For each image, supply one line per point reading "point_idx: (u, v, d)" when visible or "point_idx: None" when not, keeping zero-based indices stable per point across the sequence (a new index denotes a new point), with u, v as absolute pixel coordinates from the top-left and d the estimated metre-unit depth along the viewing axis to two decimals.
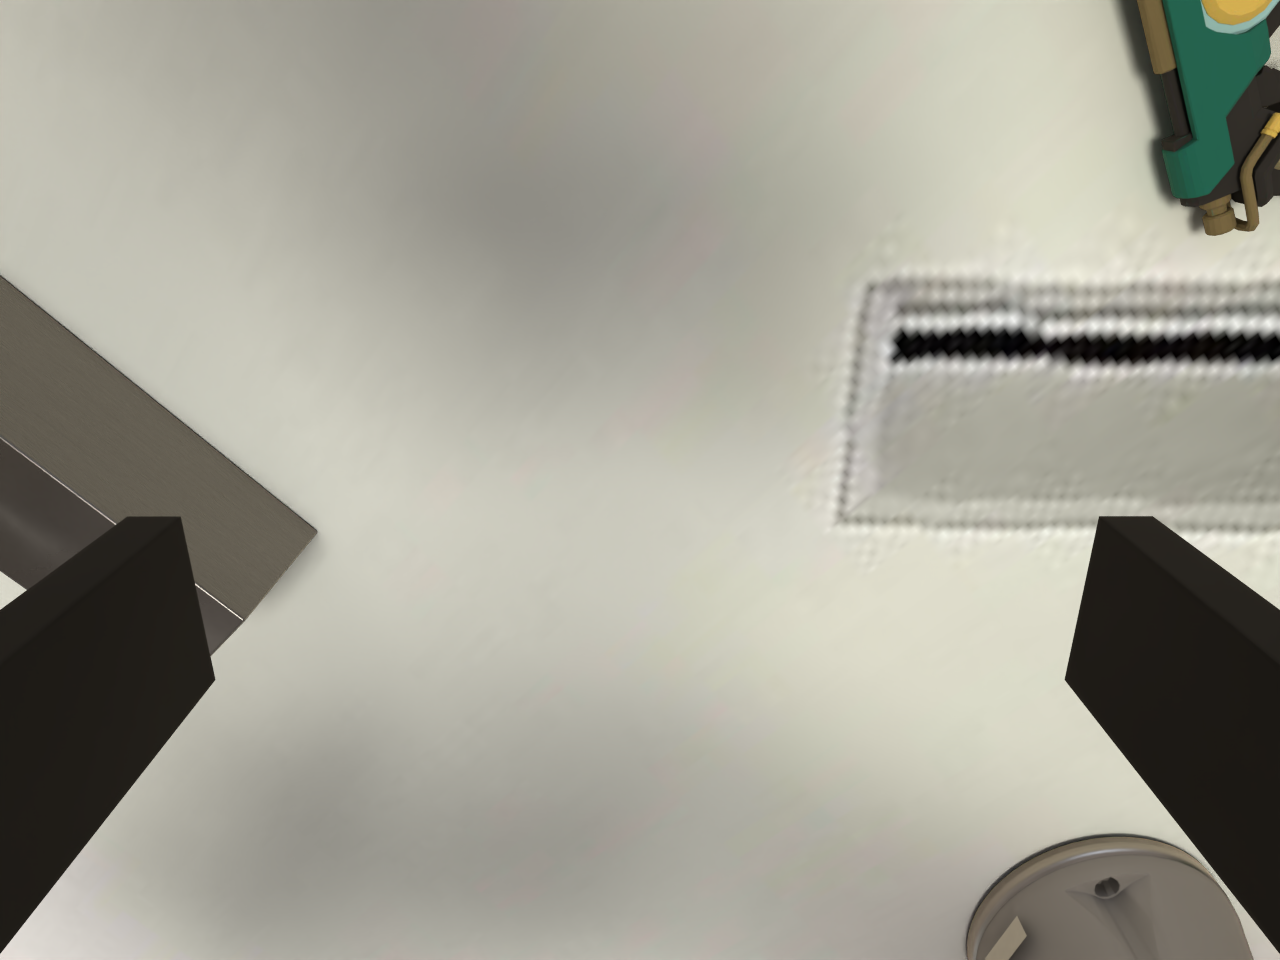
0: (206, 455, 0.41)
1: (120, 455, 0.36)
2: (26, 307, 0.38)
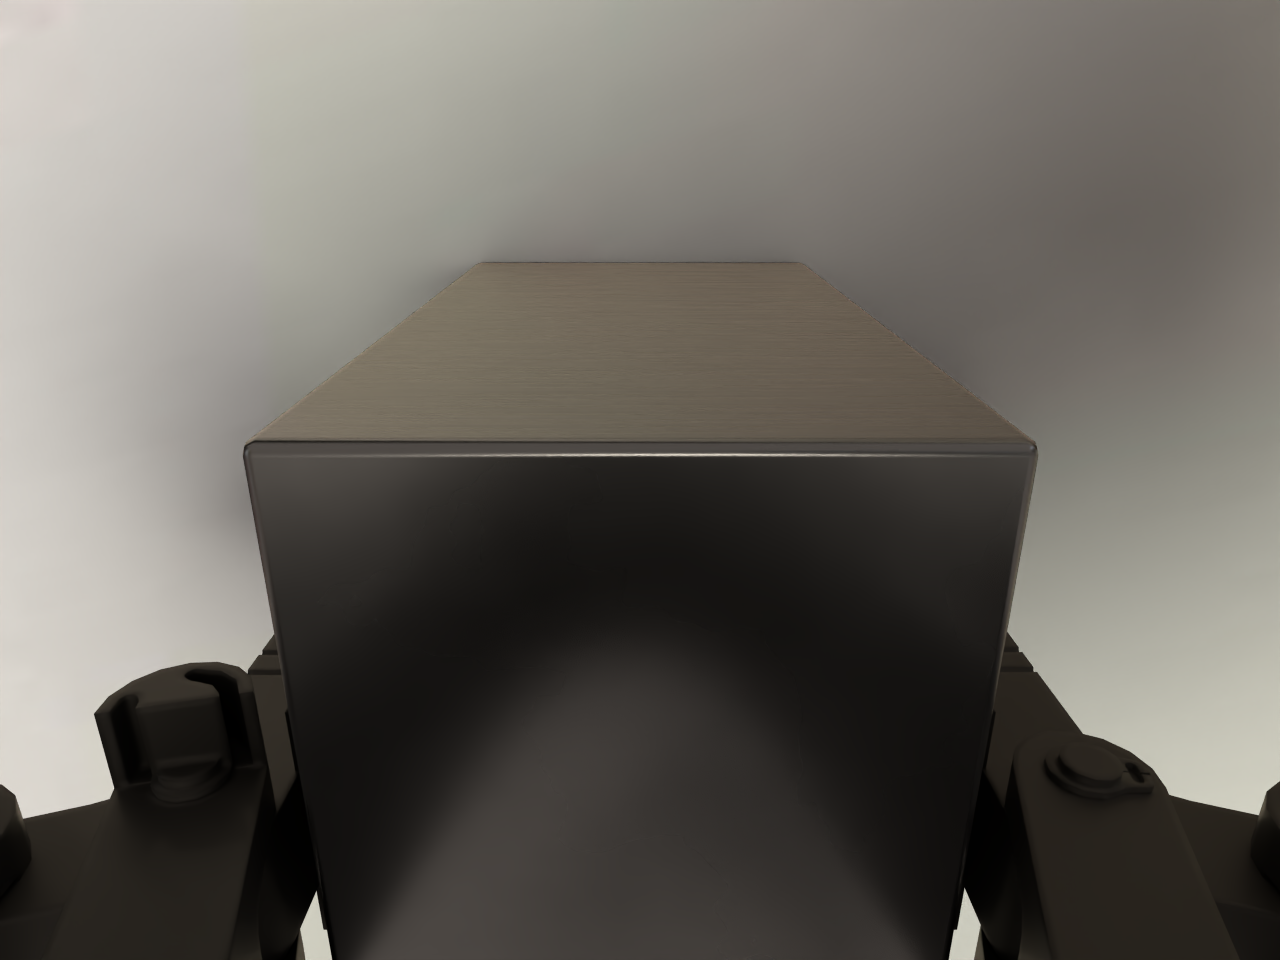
0: None
1: None
2: None
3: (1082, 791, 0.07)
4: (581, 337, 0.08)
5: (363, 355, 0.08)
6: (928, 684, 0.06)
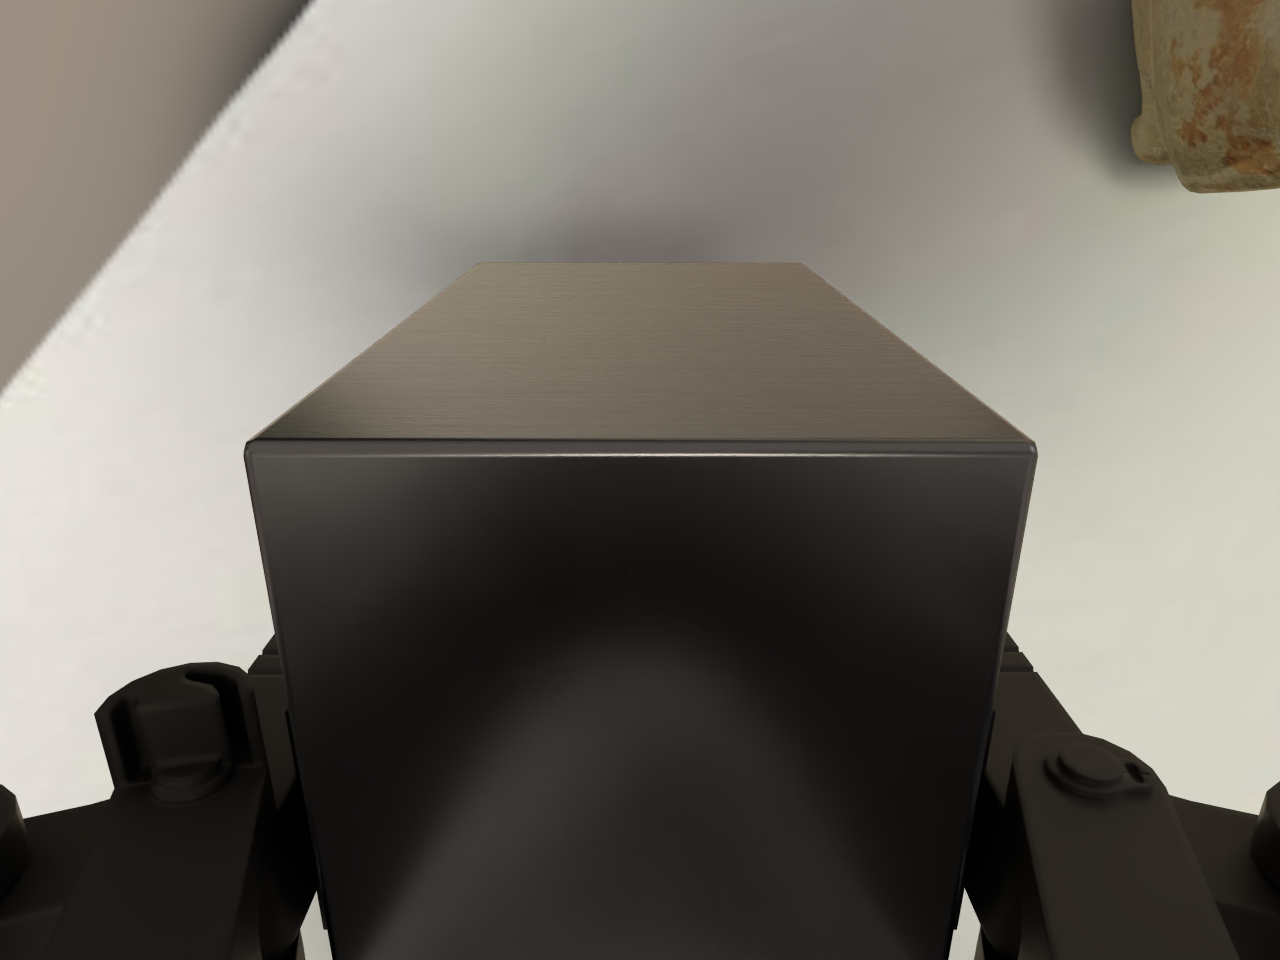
0: None
1: None
2: None
3: (1082, 792, 0.07)
4: (581, 337, 0.08)
5: (363, 355, 0.08)
6: (927, 684, 0.06)
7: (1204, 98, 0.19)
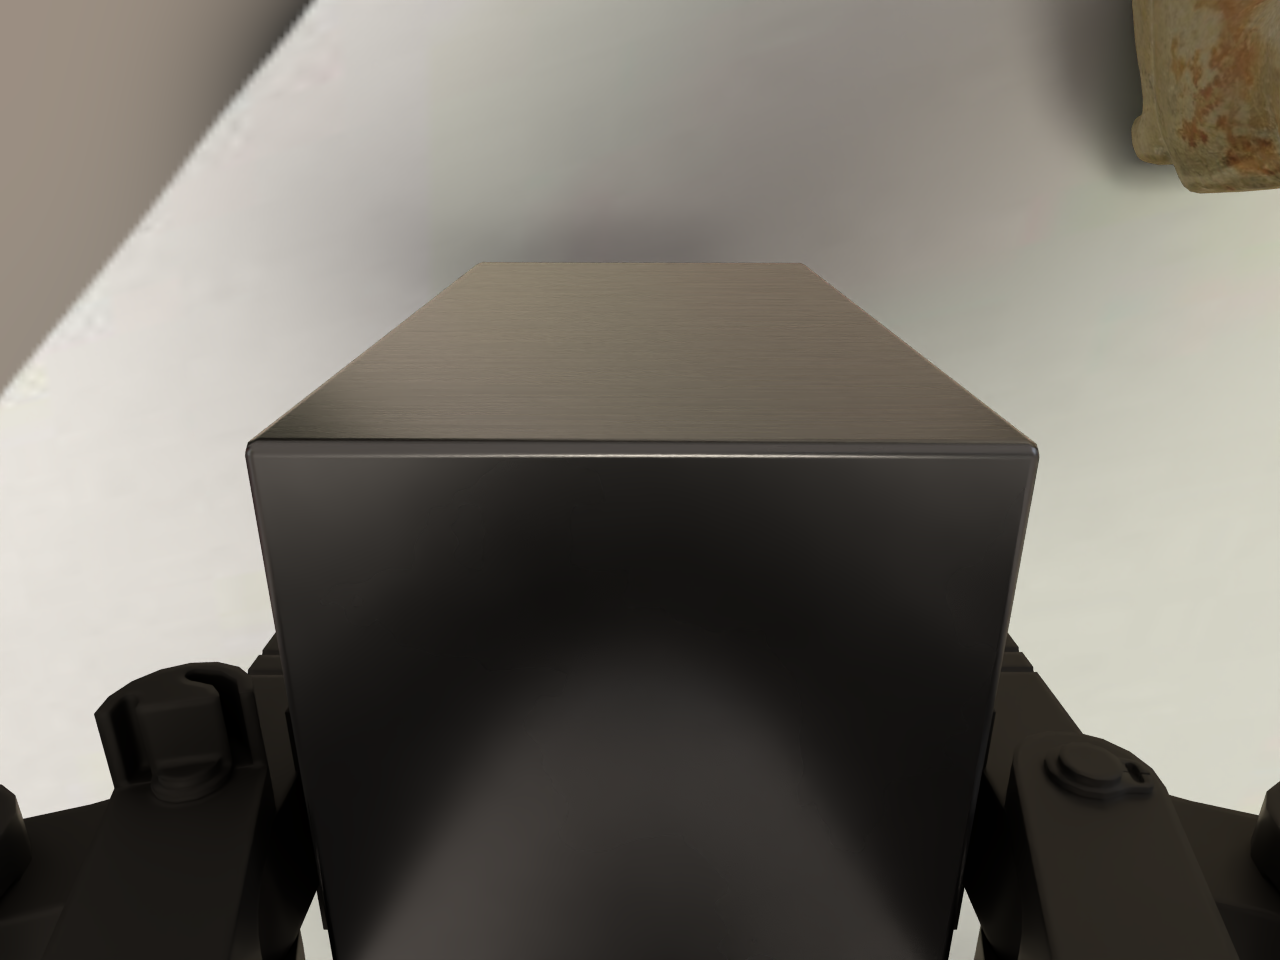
0: None
1: None
2: None
3: (1082, 792, 0.07)
4: (582, 337, 0.08)
5: (364, 355, 0.08)
6: (929, 685, 0.06)
7: (1205, 98, 0.19)
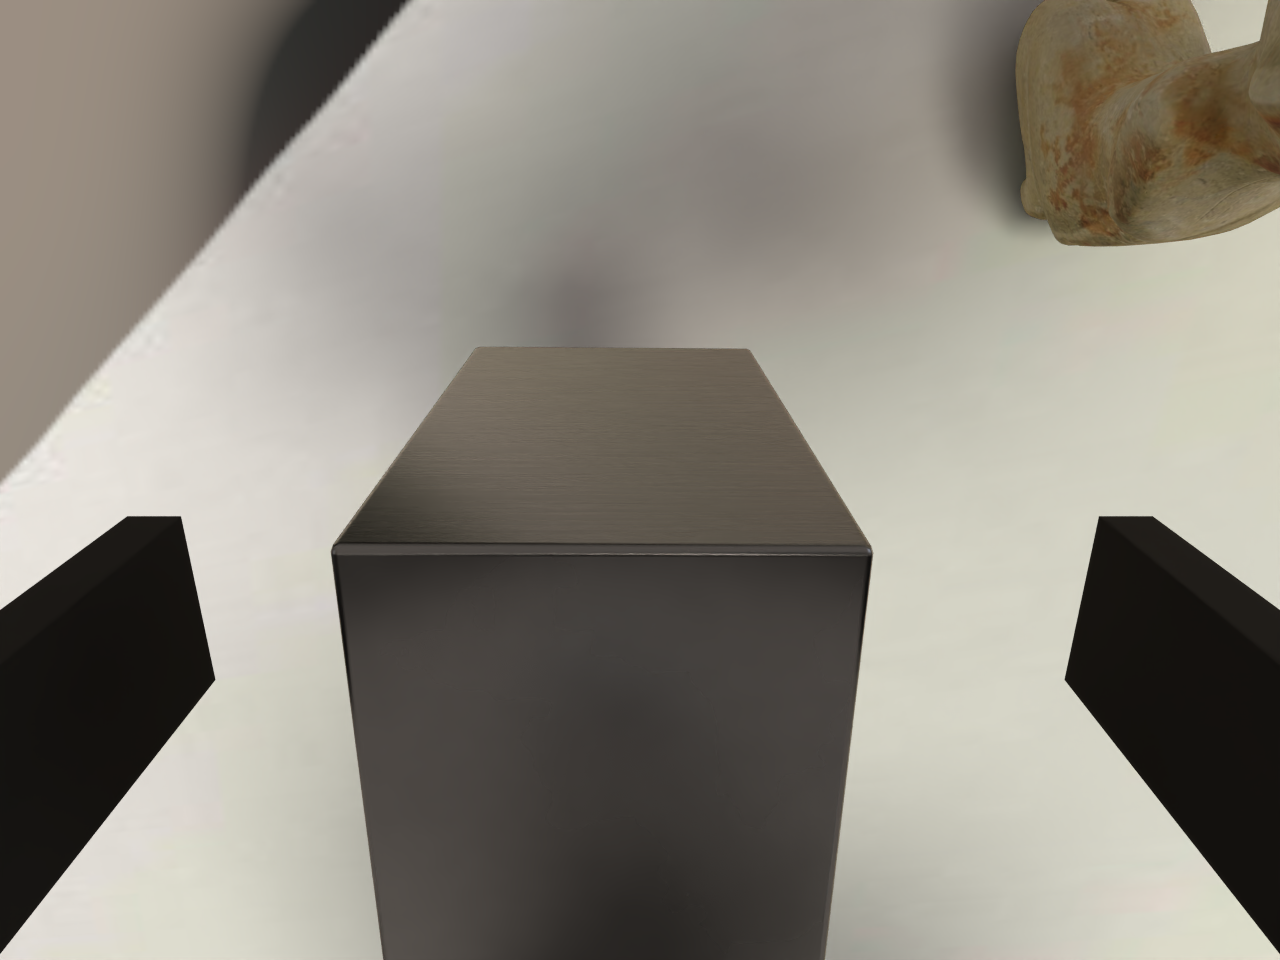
0: None
1: None
2: None
3: None
4: (563, 440, 0.11)
5: (399, 459, 0.10)
6: (805, 709, 0.09)
7: (1063, 174, 0.24)
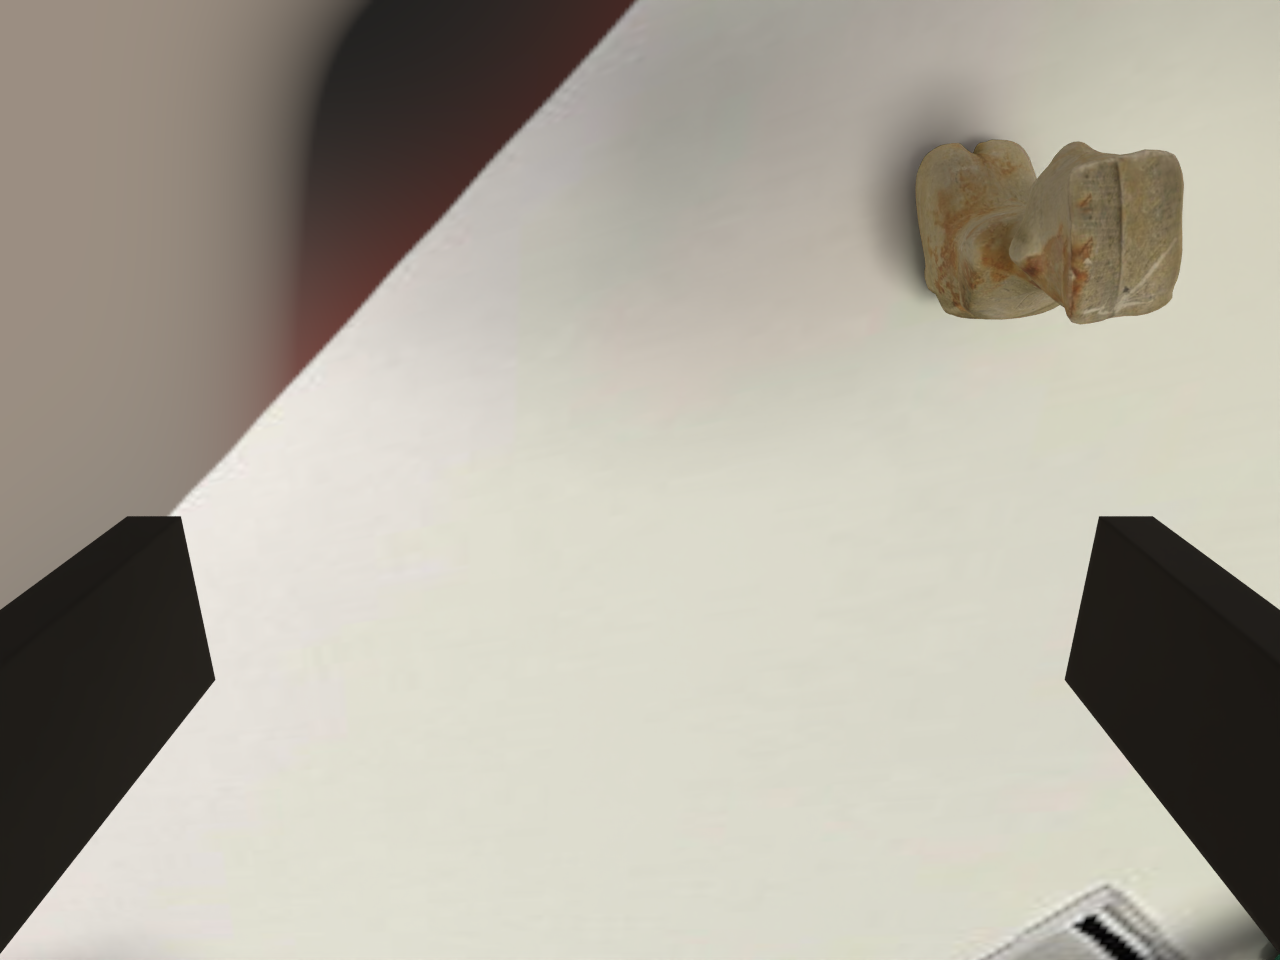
0: None
1: None
2: None
3: None
4: None
5: None
6: None
7: (940, 271, 0.37)
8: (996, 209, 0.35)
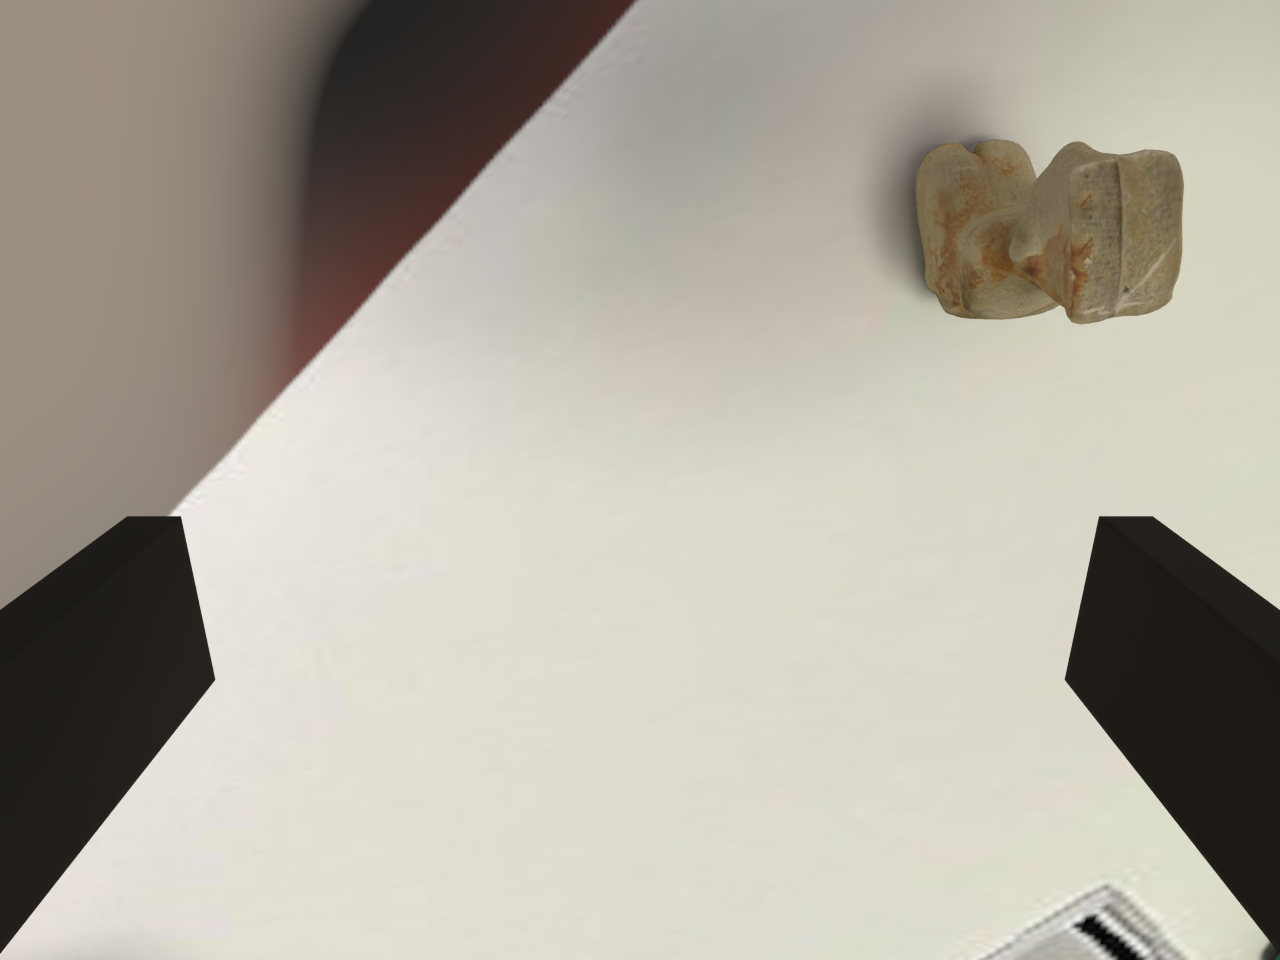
0: None
1: None
2: None
3: None
4: None
5: None
6: None
7: (940, 271, 0.37)
8: (996, 209, 0.35)
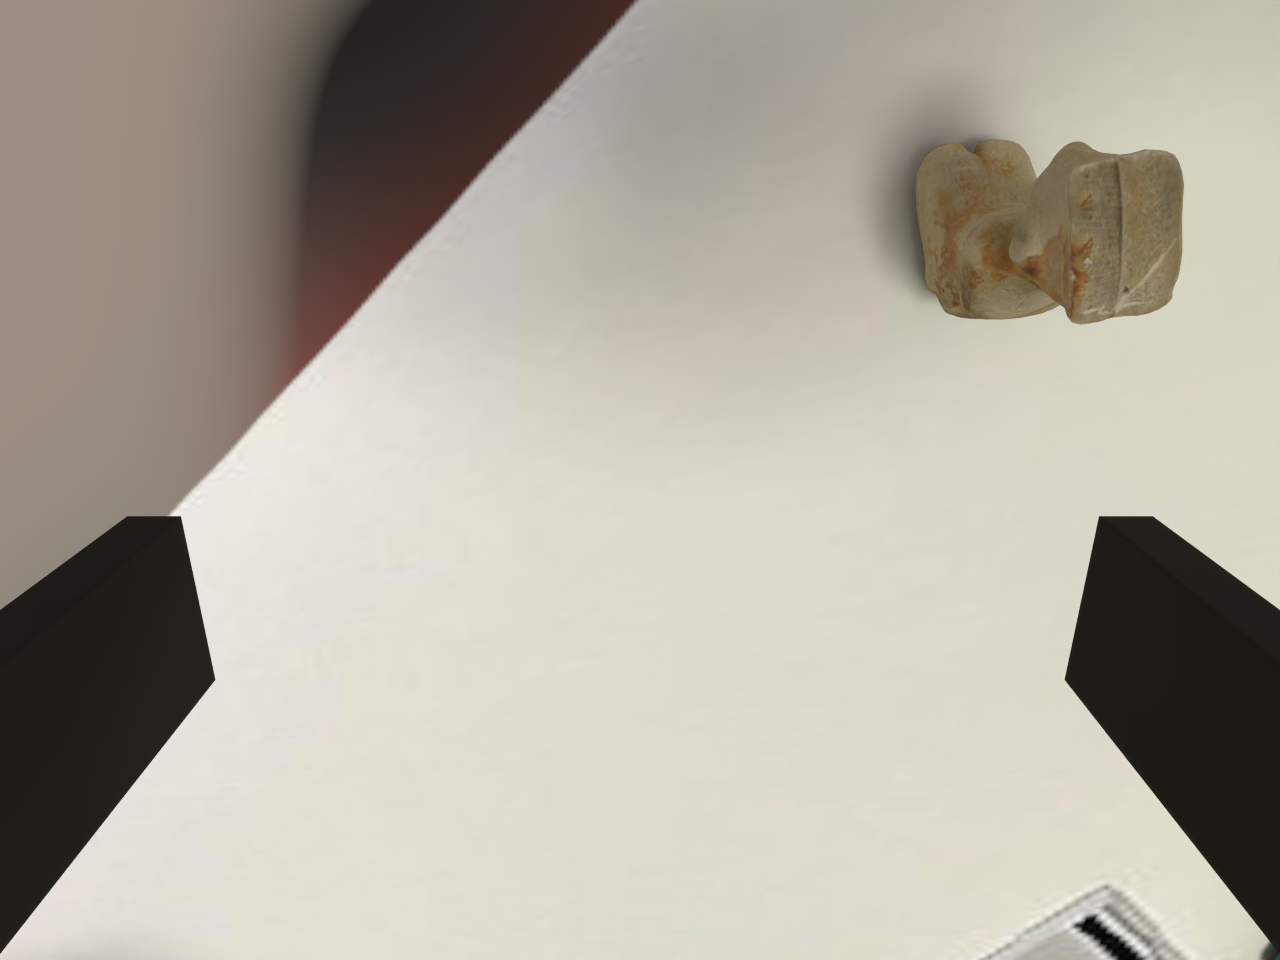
0: None
1: None
2: None
3: None
4: None
5: None
6: None
7: (940, 271, 0.37)
8: (996, 209, 0.35)
